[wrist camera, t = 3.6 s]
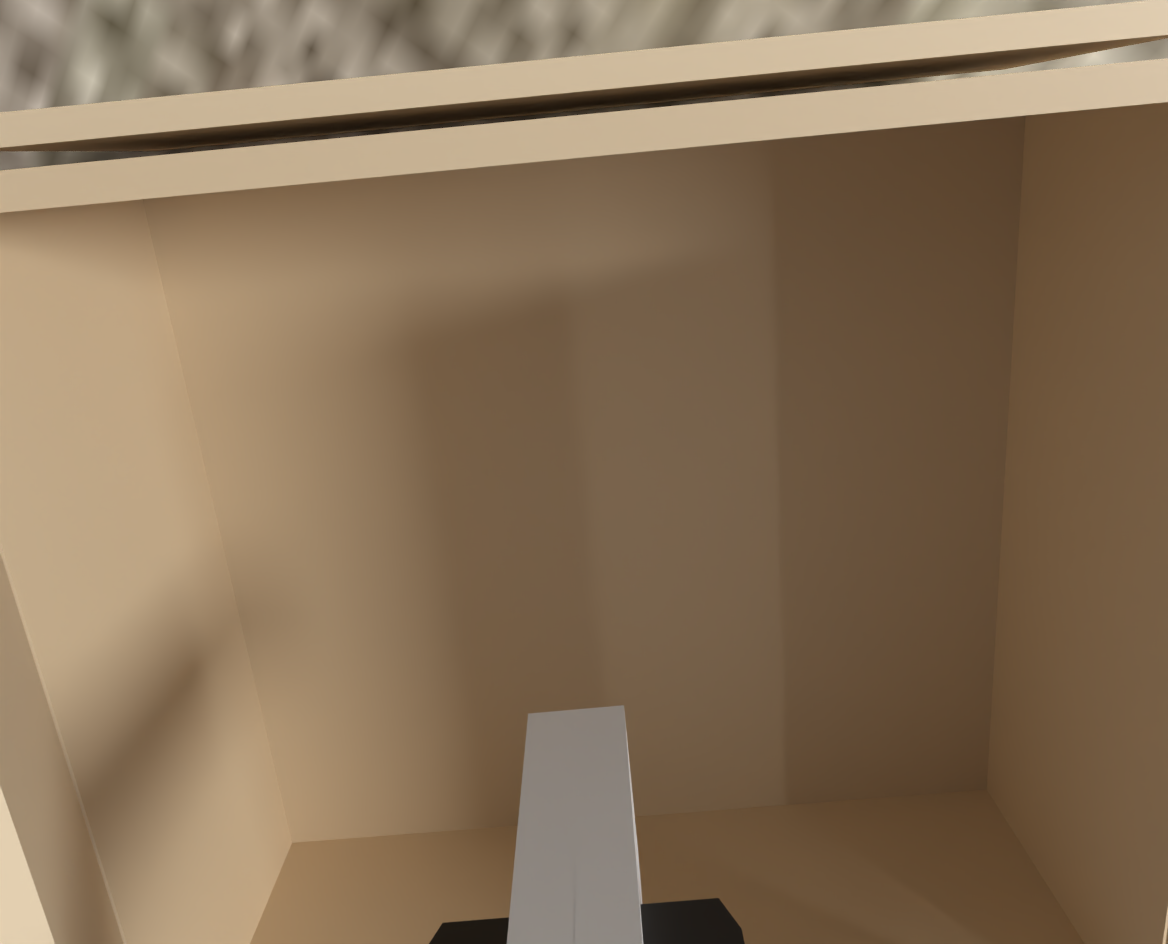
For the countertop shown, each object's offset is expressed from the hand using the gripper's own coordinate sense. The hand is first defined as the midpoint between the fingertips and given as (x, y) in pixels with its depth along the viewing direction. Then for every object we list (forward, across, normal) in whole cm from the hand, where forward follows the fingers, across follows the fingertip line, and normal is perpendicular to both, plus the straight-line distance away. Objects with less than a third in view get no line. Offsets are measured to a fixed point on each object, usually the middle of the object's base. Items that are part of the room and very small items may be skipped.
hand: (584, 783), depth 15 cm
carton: (+11, +1, 0) cm, 11 cm away
